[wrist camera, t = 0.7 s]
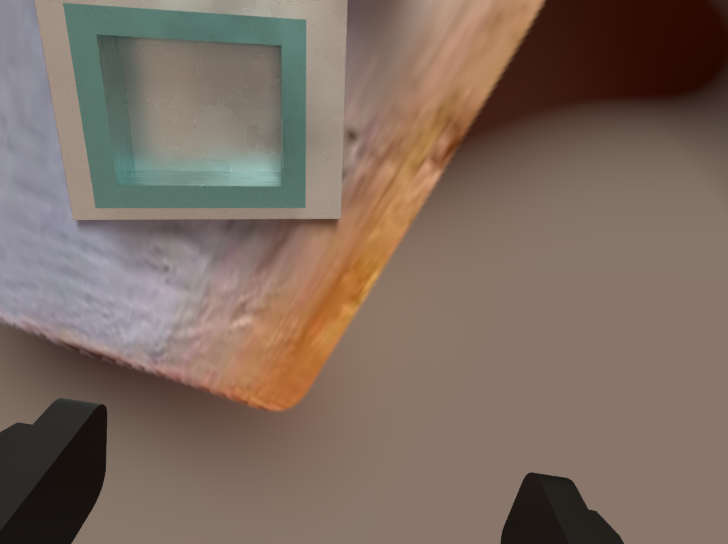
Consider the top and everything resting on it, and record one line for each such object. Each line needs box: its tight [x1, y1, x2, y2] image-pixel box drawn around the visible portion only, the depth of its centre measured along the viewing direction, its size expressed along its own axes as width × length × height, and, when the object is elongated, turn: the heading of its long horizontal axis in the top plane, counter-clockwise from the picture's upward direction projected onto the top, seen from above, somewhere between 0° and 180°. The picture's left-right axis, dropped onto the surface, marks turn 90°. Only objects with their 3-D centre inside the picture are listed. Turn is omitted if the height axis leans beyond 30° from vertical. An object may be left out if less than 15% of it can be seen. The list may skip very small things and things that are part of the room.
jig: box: [34, 0, 348, 220], centre depth 27 cm, size 16×13×5 cm
